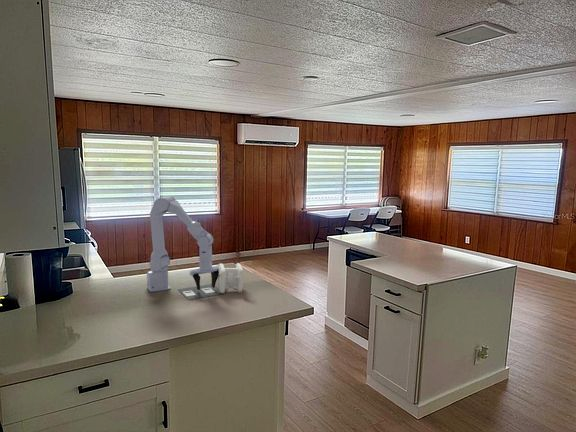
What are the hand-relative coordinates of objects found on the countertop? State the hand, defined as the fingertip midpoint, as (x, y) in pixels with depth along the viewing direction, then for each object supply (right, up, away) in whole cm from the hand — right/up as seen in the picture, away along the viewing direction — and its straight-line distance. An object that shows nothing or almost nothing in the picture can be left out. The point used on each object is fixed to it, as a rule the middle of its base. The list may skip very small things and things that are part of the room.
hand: (205, 288), depth 185 cm
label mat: (-2, -2, -1) cm, 3 cm away
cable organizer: (+11, -1, +2) cm, 11 cm away
